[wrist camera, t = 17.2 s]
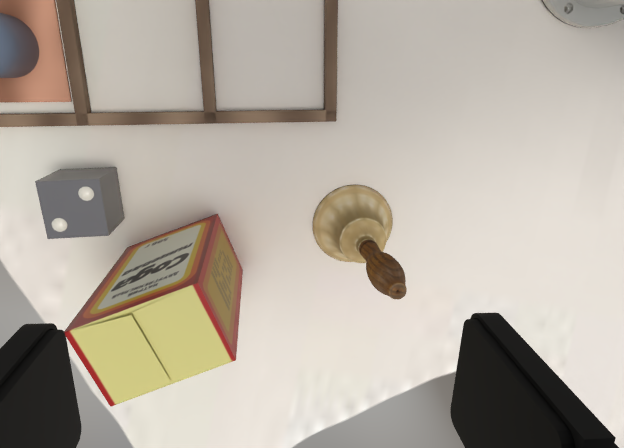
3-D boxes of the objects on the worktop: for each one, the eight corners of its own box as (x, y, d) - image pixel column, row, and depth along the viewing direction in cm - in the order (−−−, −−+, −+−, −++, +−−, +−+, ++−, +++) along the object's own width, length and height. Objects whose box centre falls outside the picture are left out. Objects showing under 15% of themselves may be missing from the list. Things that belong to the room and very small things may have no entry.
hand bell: (298, 209, 45) (318, 276, 30) (371, 170, 45) (429, 218, 30) (334, 274, 48) (369, 365, 33) (404, 237, 48) (471, 313, 33)
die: (116, 167, 42) (98, 179, 37) (124, 218, 44) (108, 235, 39) (60, 169, 42) (34, 181, 37) (70, 220, 43) (47, 239, 38)
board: (336, -34, 39) (338, -37, 38) (334, 120, 43) (336, 121, 42) (-94, -43, 35) (-104, -46, 34) (-51, 126, 39) (-59, 127, 38)
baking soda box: (217, 213, 45) (197, 285, 29) (242, 270, 47) (235, 363, 32) (127, 247, 45) (61, 335, 30) (156, 301, 47) (108, 410, 32)
